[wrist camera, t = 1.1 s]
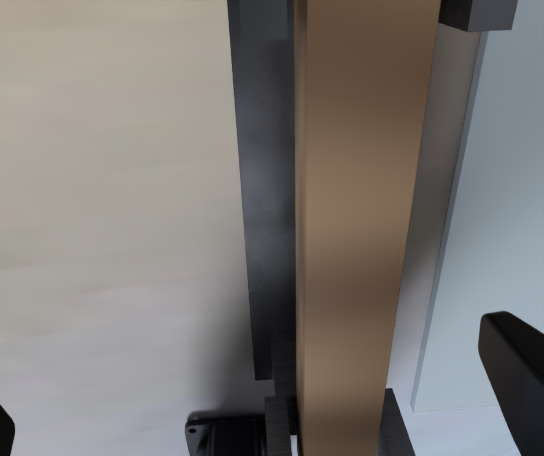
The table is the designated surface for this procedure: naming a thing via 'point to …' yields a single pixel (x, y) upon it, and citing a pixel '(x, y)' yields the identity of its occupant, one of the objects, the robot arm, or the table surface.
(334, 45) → the walnut bar
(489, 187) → the blue-grey mat
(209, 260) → the table surface
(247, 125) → the dark grey u-shaped stand
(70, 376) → the table surface
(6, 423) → the robot arm
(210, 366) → the table surface
